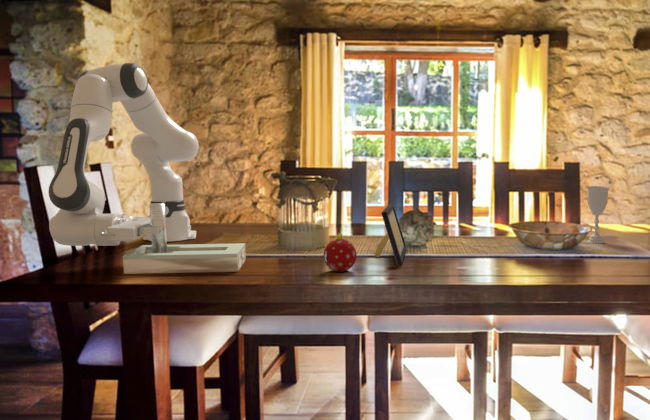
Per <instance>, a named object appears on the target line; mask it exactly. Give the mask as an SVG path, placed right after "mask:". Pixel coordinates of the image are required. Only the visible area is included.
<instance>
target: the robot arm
mask: <svg viewBox="0 0 650 420" xmlns="http://www.w3.org/2000/svg"><path fill="white" fill-rule="evenodd" d="M119 102H121V104H122V106H123V108H124V110H125V112H126V113H127V115H128V117H129V119H130V121H131V122H132V123H133V126H134V127H135V128H136V129H137V130H138V131H140V132H142V133H137V134H136V135H135V136H134V137H133V139H132V140H131V144H130V145H131V146H130V147H131V153H132V155H133V156H134V157H135V159H136V160H138V161H139V162H140V163H141V164H142V166H143V167H144V169H145V171H146V172H147V175H148V179H149V184H150V195H151V197H150V198H151V201H150V204H154V203H165V216H166V237H167V242H180V241H186V240H194V239H196V237H197V230H192V227H193V226H192V225H191V221H190V217H189V215H188V213H187V211H186V208H187V207H186V200H185V199H184V191H183V190H184V189H183V187H184V186H183V178H182V177H181V176H180V175H179V174H178V173H176V172H175V171H174V170H173V169H172V167H171V164H170V163H181V162H186V161H190V160H193V159H195V158H196V156H197V155H198V153H199V149H200V148H199V147H200V143H199V141H198V138H197V136H196V135H195V134H194V133H192V132H190V131H188V130H186V129H184V128H183V127H181V126H180V125H179V124H177V123H176V122H175V121H174V120H173V119H172V118H171V117H170V116H169V115H168V114H167V112H166V111H165V109H164V107H163V106H162V104H161V102H160V101H159V99H158V97H157V94H156V93H155V92H154V89H153V88H152V86H151V85H150V84H149V80H148V76H147V73H146V71H145V70H144V69H143V67H141V66H140V65H139V64H137V63H133V62H132V63H131V62H125V63H120V64H119V63H117V64H108V65H104V66H100V67H97V68H92V69H87V70H84V71H83V72H81V73H80V74H79V75H78V77H77V79H76V83H75V86H74V90H73V94H72V99H71V104H70V114H69V115H70V116H69V121H68V123H67V126H66V127H65V131H64V135H63V139H62V145H61V148H60V155H59V159H58V160H59V161H58V165H57V170H56V171H55V174H54V175H53V177H52V179H51V181H50V183H49V186H48V197H49V201H51V203H52V204H53V205H54V206H55V207H56V208H58V209H59V210H58V212H56V214H54V216H53V217H51V218H50V220H49V223H48V230H49V233H50V236H51V238H52V239H53V241H54V242H56V243H57V244H59V245H61V246H62V245H63V246H71V247H72V246H73V247H85V246H90V245H95V246H103V247H104V246H106V247H107V246H119V245H120V244H121V242H133V241H135V240H138V239H140V238H141V237H142V238H143V240H144V241H150V242H152V240H151V234H158V233H159V232H160V228H159V227H151V220H150V214H149V215H148V216H147V217H145V216H128V214H125V213H124V214H123V213H122V214H120V213H104V210H105V206H106V195H105V193H104V191H103V190H102V189H101V188H100V187H98V186H97V185H96V184H94V183H93V182H91V181H89V180H88V178H87V176H86V174H85V167H86V161H87V156H88V155H87V154H88V149H89V146H90V143H92V142H94V143H95V142H99V141H102V140H103V139H105V138H106V137H107V136H108V135H109V133H110V130H111V127H112V120H113V103H119Z"/></svg>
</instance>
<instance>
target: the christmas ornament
mask: <svg viewBox="0 0 650 420" xmlns="http://www.w3.org/2000/svg"><path fill="white" fill-rule="evenodd" d="M357 255H358V254H357V250H356V247H355V246H354V245H353V243H352V242H351V241H349V240H347V239H344V238H343V234H342V233H337V237H336V239H333V240H331V241H330V242H329V243H327V244H326V246H325V247H324V250H323V261H324V263H325V265H326V266H327V267H328V268H329V269H330V270H332V271H334V272H338V273H344V272H346V271H348V270H350V269H351V268H353V266H354V265H355V263H356V261H357V257H358V256H357Z"/></svg>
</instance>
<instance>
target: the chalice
mask: <svg viewBox="0 0 650 420" xmlns="http://www.w3.org/2000/svg"><path fill="white" fill-rule="evenodd" d="M586 189H587V205H588V208H589V210H590V213H591V214H592V215H593V216H594V217H595V218H594V226H593V228H594V232H593V234H591V235H589V238H588V240H587V243H589V244H590V243H591V244H605V240H604V238H603V236H602V234H600V233H599V228H600V225H599V223H600V221H599V220H600V219H599V217H600V216H601V215H603V213H604V211H605V209H606V208H607V205H608V201H609V200H608V199H609V190H610V186H601V185H600V186H599V185H595V186H594V185H590V186H586Z"/></svg>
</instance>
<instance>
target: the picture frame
mask: <svg viewBox="0 0 650 420" xmlns="http://www.w3.org/2000/svg"><path fill="white" fill-rule="evenodd" d="M381 216H382V220H383V223H384V226H385V229H386V232H387V233H385V236H383V238H382V239H381V241H379V243H378V244H377V245H376V249H375V251H374V252H375V253H374V257H376V258H380V256H381V255H382V252H383V250H384V249H385V247H386V245H387V243H388V241H389V243H390V246H391V249H392V253H393V255H394V259H395V262H396V265H397V266H401V265H402V264H403V262H404V258H405V255H406V252H407V246H406V241H405V239H404V236H403V232H402V229H401V226H400V223H399V219H398V216H397V212H396V210H395V206H394V203H392V202H391V203H388V204H387V205H386V206H385V208H384V209H383V210H382V212H381Z"/></svg>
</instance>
